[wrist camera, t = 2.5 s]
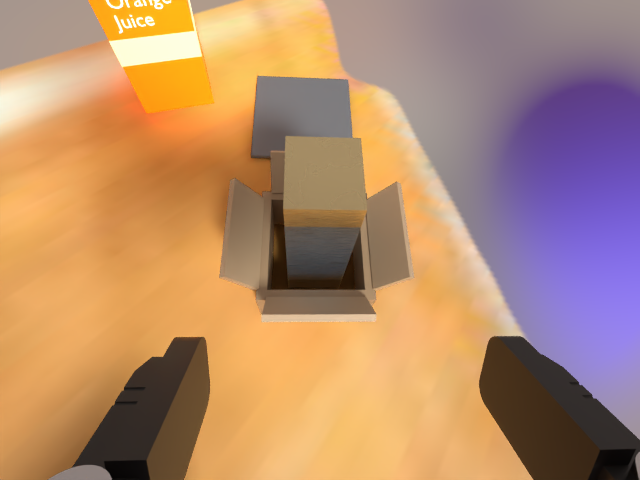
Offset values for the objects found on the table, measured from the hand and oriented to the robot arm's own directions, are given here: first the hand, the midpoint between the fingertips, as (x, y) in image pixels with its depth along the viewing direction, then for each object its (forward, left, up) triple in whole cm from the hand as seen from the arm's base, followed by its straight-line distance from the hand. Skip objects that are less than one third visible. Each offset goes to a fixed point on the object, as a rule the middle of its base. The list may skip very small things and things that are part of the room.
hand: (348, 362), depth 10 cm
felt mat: (-1, +29, -20) cm, 35 cm away
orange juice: (-16, +34, -20) cm, 42 cm away
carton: (0, +11, -20) cm, 22 cm away
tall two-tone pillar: (0, +11, -20) cm, 22 cm away
